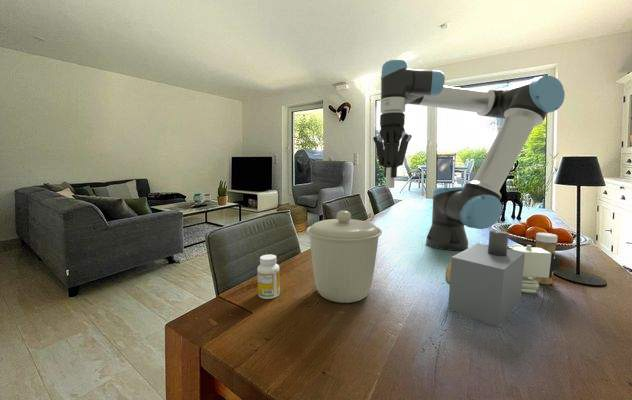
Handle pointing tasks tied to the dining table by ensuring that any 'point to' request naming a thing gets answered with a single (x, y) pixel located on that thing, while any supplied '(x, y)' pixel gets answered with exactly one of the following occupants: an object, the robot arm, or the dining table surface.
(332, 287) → the canister
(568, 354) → the dining table surface
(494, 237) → the grey upright block
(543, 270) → the pneumatic valve
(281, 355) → the dining table surface
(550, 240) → the sprinkles bottle
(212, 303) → the dining table surface
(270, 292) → the supplement bottle
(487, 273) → the block
